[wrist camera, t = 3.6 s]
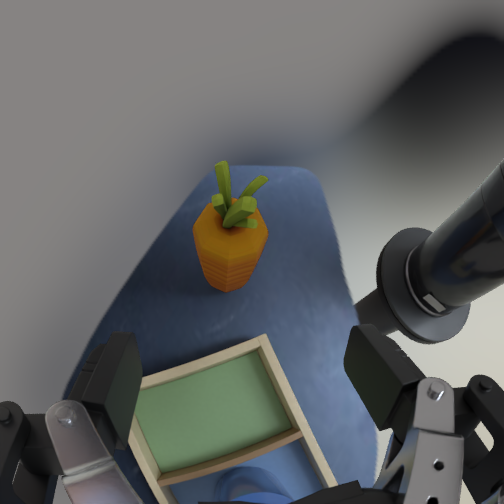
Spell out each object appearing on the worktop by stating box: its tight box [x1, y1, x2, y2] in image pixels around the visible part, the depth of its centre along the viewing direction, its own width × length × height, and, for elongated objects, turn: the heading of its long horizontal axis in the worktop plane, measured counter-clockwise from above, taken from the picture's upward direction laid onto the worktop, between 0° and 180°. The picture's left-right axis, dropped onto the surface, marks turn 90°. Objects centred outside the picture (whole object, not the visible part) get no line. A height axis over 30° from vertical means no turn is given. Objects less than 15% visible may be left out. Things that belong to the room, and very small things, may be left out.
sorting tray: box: [128, 334, 338, 504], centre depth 19 cm, size 14×18×3 cm
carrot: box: [193, 161, 268, 293], centre depth 21 cm, size 5×5×15 cm
